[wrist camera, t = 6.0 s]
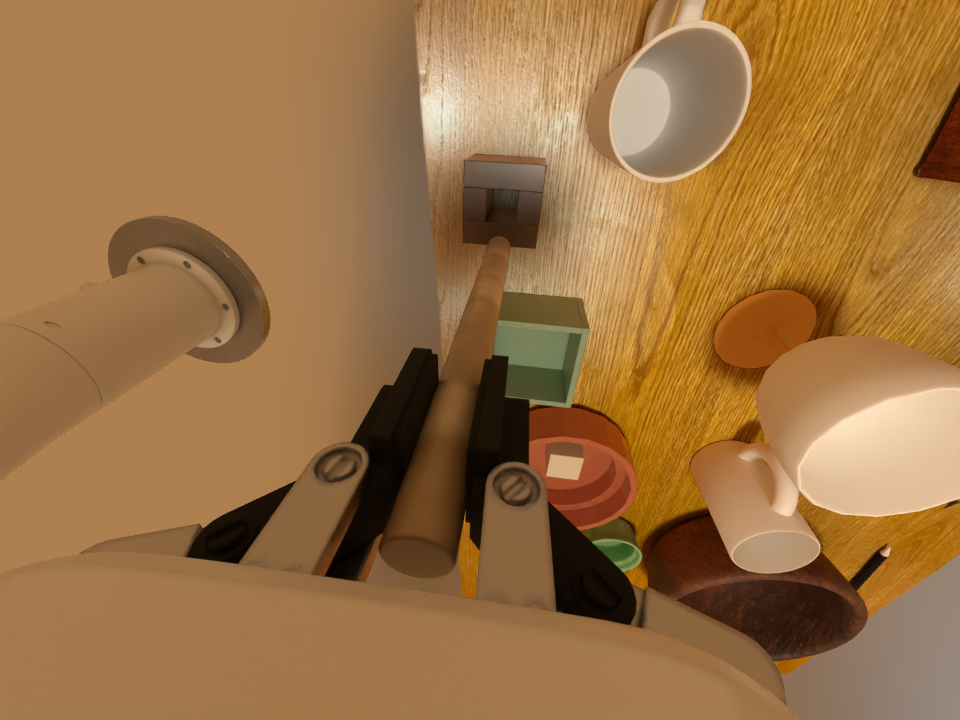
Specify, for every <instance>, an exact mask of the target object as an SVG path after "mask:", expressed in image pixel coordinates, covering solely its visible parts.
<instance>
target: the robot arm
mask: <svg viewBox="0 0 960 720" xmlns="http://www.w3.org/2000/svg"><path fill="white" fill-rule="evenodd" d="M239 323H240V316H239V310H238V306H237V303H236V301H235V299H234V297H233V295H232V293H231V291H230V290H229V288H228V287H227V285H226V284H225V282H224V281H223V280H222V279H221V278H220V277H219V276H218V274H217V273H216V272H214V271H213V270H212V269H211V268H210V267H209V266H208V265H206V264H205V263H203V262H202V261H201V260H199V259H198V258H196V257H194V256H192V255H190V254H188V253H187V252H184V251H181V250H178V249H176V248H171V247H165V246H156V247H152V248H148V249H144V250H142V251H140V252H137V253H136V254H135V255H134V256H133V257H132V258H131V260H130V261H129V263H128V267H127V274H124V275H121V276H119V277H116V278H113V279H110V280H108V281H105V282H102V283H100V284H99V283H89V282H87V283H84V284H82V285H81V287H80V291H78V292H75V293H73V294H70V295H67V296H64V297H62V298H59V299H57V300H54V301H51V302H48V303H46V304H43V305H40V306H37V307H35V308H32V309H29V310H27V311H24V312H21V313H19V314H16V315H13V316H10V317H8V318H5V319H2V320H0V482H1V481H2V480H3V479H5V478H6V477H7V476H8V475H9V474H11V473H12V472H13V471H14V470H15V469H17V468H18V467H19V466H21V465H22V464H23V463H24V462H25V461H27V460H28V459H29V458H31V457H32V456H34V455H35V454H36V453H38V452H39V451H40V450H42V449H43V448H44V447H46V446H47V445H48V444H50V443H51V442H53V441H54V440H55V439H57V438H58V437H60V436H61V435H63V434H64V433H66V432H67V431H69V430H70V429H72V428H73V427H74V426H76V425H78V424H79V423H80V422H82V421H84V420H85V419H86V418H88V417H90V416H91V415H93V414H94V413H96V412H97V411H98V410H100V409H102V408H103V407H105V406H106V405H108V404H109V403H111V402H112V401H114V400H115V399H117V398H118V397H120V396H121V395H123V394H124V393H126V392H128V391H129V390H131V389H132V388H134V387H135V386H137V385H138V384H139V383H141V382H143V381H144V380H146V379H147V378H149V377H150V376H152V375H153V374H155V373H156V372H158V371H159V370H161V369H162V368H164V367H165V366H167V365H168V364H170V363H171V362H173V361H174V360H176V359H177V358H179V357H180V356H181V355H183V354H185V353H186V352H188V351H189V350H191V349H192V348H194V347H195V346H196V347H201V348H213V347H219V346H221V345H223V344H225V343H226V342H228V341H229V340H231V339H232V338H233V337H234V336H235V334H236V333H237V331H238V328H239ZM508 361H509V356H499V355H492V358H491V359H485V361H484V366H483V371H482V375H481V380H480V385H479V390H478V395H477V400H476V405H475V410H474V415H473V420H472V425H471V430H470V435H469V441H468V448H467V475H466V484H467V487H468V498H467V504H466V522H468V523H470V539H471V540H472V541H473V543H474V544H475V545H476V547H477V548H478V549H479V550H480V556H479V567H478V578H477V589H476V599H471V598H464V597H458V596H451V595H445V594H438V593H432V592H425V591H418V590H412V589H405V588H398V587H391V586H385V585H377V584H371V583H366V580H367V577H368V575H369V572H370V570H371V567H372V565H373V562H374V560H375V557H376V554H377V552H378V549H379V544H380V541H381V538H382V535H383V533H384V530H385V527H386V524H387V522H388V519H389V516H390V513H391V511H392V508H393V505H394V502H395V500H396V497H397V494H398V491H399V489H400V486H401V483H402V480H403V478H404V476H405V473H406V470H407V467H408V465H409V462H410V459H411V456H412V454H413V451H414V448H415V445H416V443H417V440H418V437H419V434H420V432H421V429H422V426H423V423H424V421H425V418H426V415H427V412H428V409H429V407H430V404H431V401H432V398H433V396H434V393H435V390H436V387H437V385H438V382H439V376H438V356H437V354H432V350H431V349H424V348H413V349H412V351H411V353H410V355H409V357H408V359H407V361H406V363H405V365H404V366H403V368H402V370H401V372H400V374H399V376H398V378H397V380H396V382H395V383H394V385H384V386H383V387H382V388H381V390H380V392H379V393H378V395H377V397H376V399H375V401H374V402H373V404H372V406H371V408H370V409H369V411H368V413H367V415H366V416H365V418H364V420H363V422H362V424H361V425H360V427H359V429H358V430H357V432H356V434H355V436H354V437H353V440H352V441H351V442H350V443H349V442H342V443H337V444H333V445H331V446H328V447H326V448H324V449H323V450H321V451H320V452H318V453H317V454H316V455H315V456H314V457H313V458H312V459H311V461H310V462H309V464H308V465H307V466H306V468H305V469H304V471H303V472H302V474H301V475H300V476H299V478H298V479H297V481H294V482H293V483H290V484H288V485H286V486H284V487H282V488H279V489H278V490H275V491H273V492H271V493H269V494H267V495H265V496H262V497H260V498H258V499H256V500H254V501H252V502H250V503H248V504H245V505H244V506H241V507H239V508H237V509H235V510H233V511H230V512H228V513H226V514H224V515H222V516H220V517H219V518H217V519H215V520H214V521H212V522H211V523H210V524H209V525H207V526H206V527H205V528H202V527H201V525H200V524H195V525H190V526H185V527H179V528H173V529H168V530H162V531H156V532H151V533H145V534H140V535H134V536H128V537H123V538H117V539H111V540H108V541H104V542H101V543H98V544H96V545H94V546H92V547H90V548H88V549H86V550H84V551H82V552H81V553H80V554H78V555H71V556H65V557H60V558H56V559H51V560H47V561H42V562H38V563H33V564H30V565H27V566H23V567H20V568H17V569H14V570H10V571H7V572H5V573H2V574H0V720H800V719H799V718H798V717H797V716H796V715H795V714H794V713H793V712H792V711H791V710H790V709H789V708H788V707H787V704H786V697H785V690H784V685H783V682H782V679H781V676H780V673H779V670H778V668H777V667H776V665H775V664H774V662H773V660H772V659H771V657H770V656H769V654H768V653H767V652H766V651H765V650H764V649H763V648H762V647H761V646H760V645H759V644H758V643H757V642H756V641H754V640H753V639H751V638H750V637H748V636H747V635H745V634H744V633H742V632H740V631H738V630H736V629H734V628H732V627H730V626H728V625H726V624H724V623H722V622H720V621H717V620H715V619H713V618H711V617H709V616H707V615H705V614H703V613H701V612H699V611H697V610H695V609H693V608H691V607H689V606H686V605H684V604H682V603H680V602H678V601H676V600H674V599H672V598H670V597H668V596H666V595H664V594H662V593H660V592H658V591H655V590H653V589H651V588H649V587H646V589H645V590H643V589H641V588H639V587H637V586H635V585H633V584H631V583H630V581H629V579H628V578H627V577H626V575H625V574H624V573H623V572H622V571H621V569H620V568H619V567H618V566H616V565H615V564H614V563H613V562H612V561H611V560H610V559H609V558H608V557H607V556H606V555H605V554H604V553H603V552H602V551H601V550H600V549H599V548H598V547H596V546H595V545H594V544H593V543H592V542H591V541H590V540H589V539H588V538H587V537H586V536H585V535H584V534H583V533H582V532H581V531H580V530H579V529H577V528H576V527H575V526H574V525H573V524H572V523H571V522H570V521H569V520H568V519H567V518H566V517H565V516H564V515H563V514H562V513H561V512H560V511H559V510H557V509H556V508H555V507H554V506H553V505H552V504H551V503H550V502H549V501H548V498H547V487H546V484H545V480H544V479H543V477H542V476H541V474H540V473H539V472H538V471H537V470H536V469H534V468H533V467H531V466H529V410H530V402H529V399H521V398H511V397H505V393H506V382H507V372H508Z"/></svg>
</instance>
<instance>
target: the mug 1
mask: <svg viewBox="0 0 960 720" xmlns="http://www.w3.org/2000/svg"><path fill="white" fill-rule="evenodd" d="M706 1H707V0H681V3H680V7H679V10H678V14H677V17H676V19H675V22H674V24H673V26H672V28H670V29H668V28H669V24H670V21H671V18H672V16H673V13H674V10H675V7H676V5H677V2H678V0H657V2H656V4H655V6H654V8H653V9H652V11H651V13H650V15H649V18H648V21H647V25H646V30H645V34H644V39H643V43H642V47H641V49H639V50H638V51H637V52H636V53H635V54H633V55H632V56H631V57H630V58H629V59H627V60H626V61H625V62H624V63H623V64H621V65H620V66H619V67H618V68H616V69H615V70H614V71H613V72H612V73H611V74H610V75H608V76H607V78H606V79H605V80H604V81H603V82H602V83H601V84H600V86H599V87H598V89H597V90H596V92H595V94H594V96H593V98H592V100H591V103H590V106H589V110H588V115H587V128H588V133H589V137H590V139H591V142H592V143H593V145H594V147H595V148H596V149H597V150H598V151H599V152H600V153H601V154H602V155H603V156H605V157H606V158H608V159H609V160H611V161H612V162H614V163H615V164H617V165H618V166H620V167H621V168H623V169H624V170H626V171H628V172H629V173H631V174H632V175H634V176H636V177H638V178H640V179H642V180H645V181H649V182H655V183H665V182H672V181H676V180H679V179H682V178H685V177H688V176H690V175H692V174H694V173H696V172H697V171H699V170H701V169H702V168H704V167H705V166H706V165H708V164H709V163H710V162H711V161H713V160H714V159H715V158H716V157H717V156H718V155H719V154H720V153H721V152H722V151H723V150H724V148H725V147H726V146H727V145H728V144H729V142H730V141H731V139H732V138H733V136H734V135H735V133H736V132H737V130H738V128H739V126H740V124H741V122H742V120H743V118H744V115H745V113H746V110H747V107H748V103H749V99H750V94H751V85H752V73H751V65H750V61H749V57H748V54H747V52H746V49H745V47H744V46H743V44H742V42H741V41H740V40H739V38H738V37H737V36H736V35H735V34H734V33H733V32H732V31H730V30H729V29H728V28H726V27H724V26H722V25H720V24H718V23H715V22H710V21H702V14H703V9H704V6H705V3H706Z"/></svg>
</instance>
